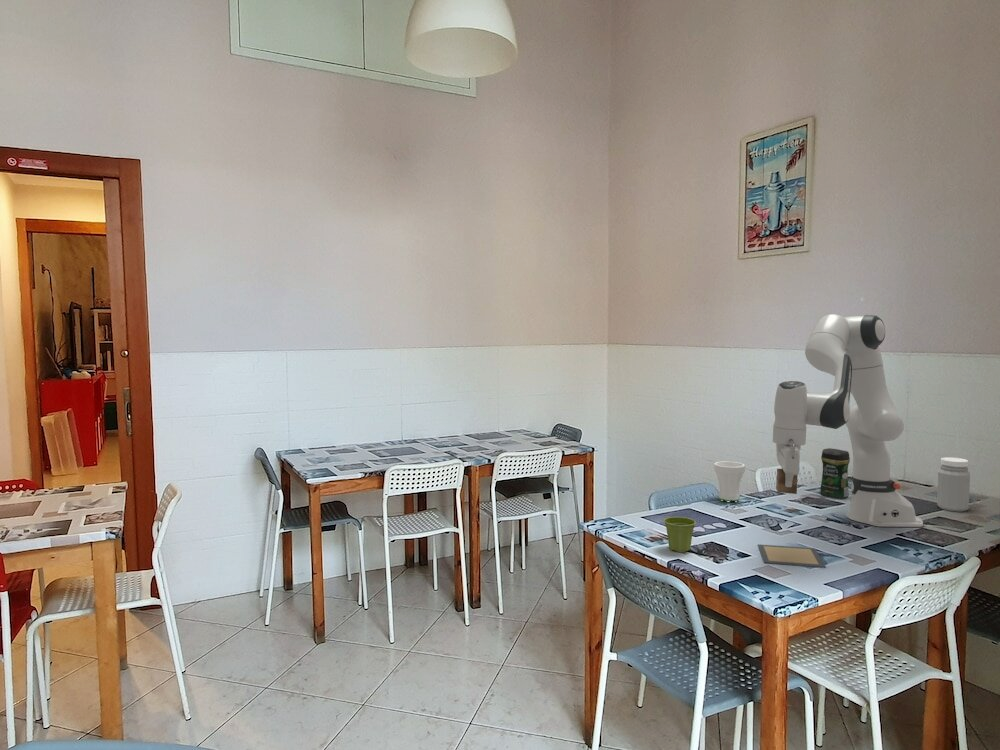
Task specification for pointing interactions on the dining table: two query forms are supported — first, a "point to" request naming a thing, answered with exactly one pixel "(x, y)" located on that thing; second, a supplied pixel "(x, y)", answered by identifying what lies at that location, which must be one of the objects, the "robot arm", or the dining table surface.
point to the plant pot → (679, 533)
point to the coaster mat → (791, 556)
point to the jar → (953, 484)
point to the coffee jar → (835, 473)
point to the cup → (729, 479)
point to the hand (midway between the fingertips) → (786, 484)
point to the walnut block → (781, 483)
